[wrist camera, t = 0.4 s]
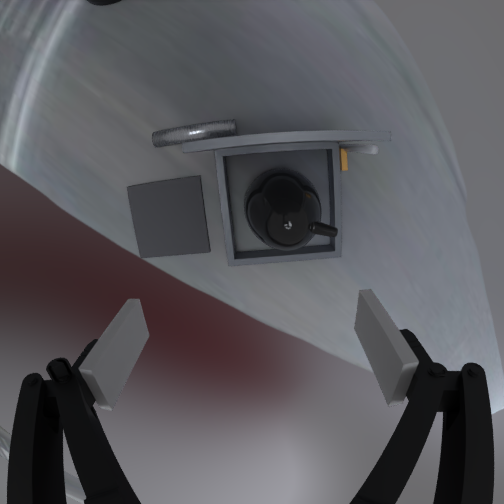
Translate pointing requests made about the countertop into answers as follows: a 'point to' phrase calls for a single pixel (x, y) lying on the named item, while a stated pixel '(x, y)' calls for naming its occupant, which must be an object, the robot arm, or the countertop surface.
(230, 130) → the rod
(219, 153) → the case
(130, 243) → the countertop surface
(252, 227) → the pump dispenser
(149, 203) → the pad
